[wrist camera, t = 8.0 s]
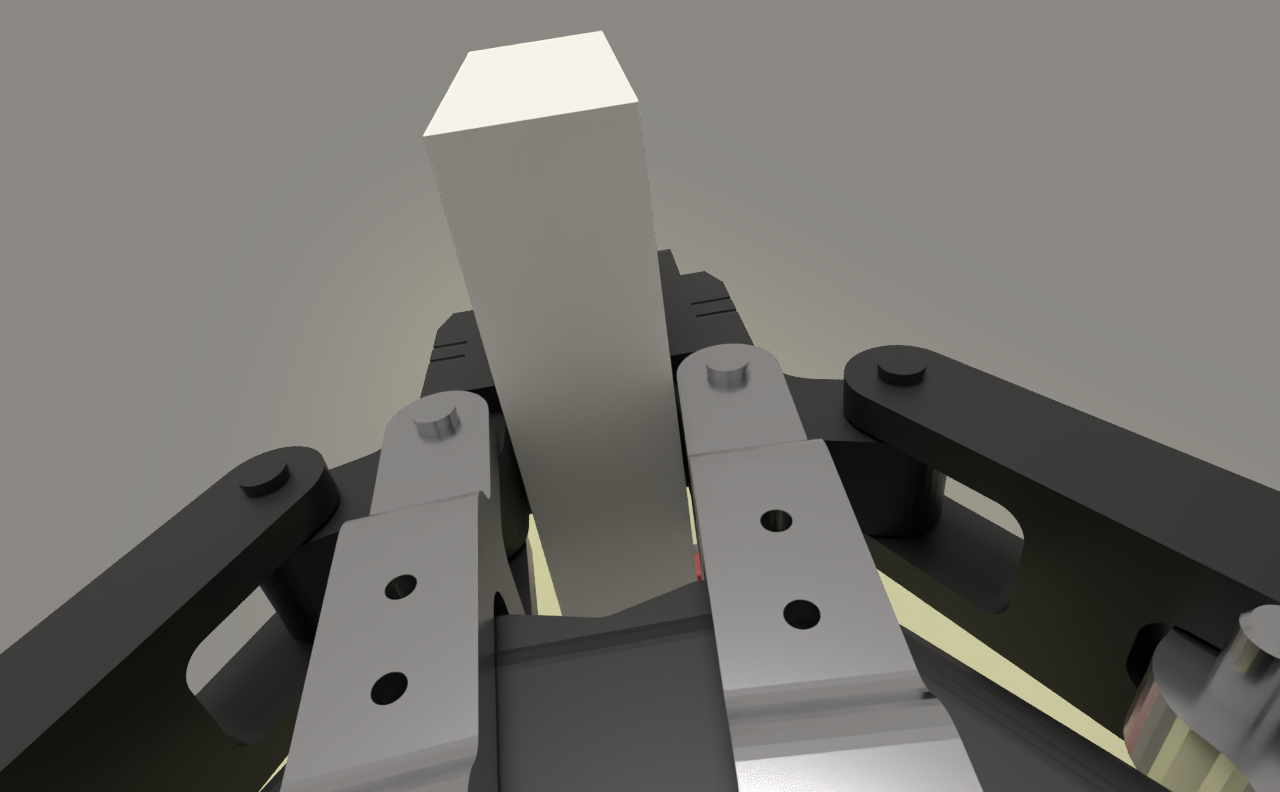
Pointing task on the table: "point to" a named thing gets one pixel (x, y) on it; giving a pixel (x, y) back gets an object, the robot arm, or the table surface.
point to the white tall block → (570, 309)
